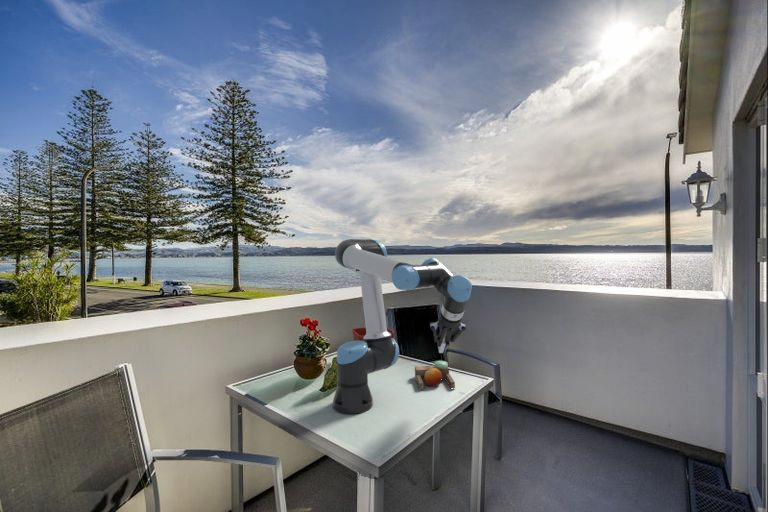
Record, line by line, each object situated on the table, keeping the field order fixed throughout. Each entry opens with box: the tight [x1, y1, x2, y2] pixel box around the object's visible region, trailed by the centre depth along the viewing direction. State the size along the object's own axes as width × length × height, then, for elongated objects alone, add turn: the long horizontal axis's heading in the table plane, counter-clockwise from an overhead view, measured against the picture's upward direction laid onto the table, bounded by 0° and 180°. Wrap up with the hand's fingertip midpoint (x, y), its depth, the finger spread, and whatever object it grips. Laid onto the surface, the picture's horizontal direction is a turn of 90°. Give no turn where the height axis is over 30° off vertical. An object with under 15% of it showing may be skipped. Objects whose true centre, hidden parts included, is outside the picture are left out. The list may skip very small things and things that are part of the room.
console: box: [414, 365, 450, 380], centre depth 153 cm, size 15×5×5 cm, turn 92°
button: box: [434, 360, 449, 369], centre depth 153 cm, size 6×6×7 cm
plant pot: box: [351, 326, 395, 341], centre depth 179 cm, size 19×19×17 cm
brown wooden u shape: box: [415, 372, 456, 391], centre depth 145 cm, size 15×10×3 cm
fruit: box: [423, 368, 442, 387], centre depth 146 cm, size 8×8×8 cm
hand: (440, 349), depth 129 cm, fingers closed
